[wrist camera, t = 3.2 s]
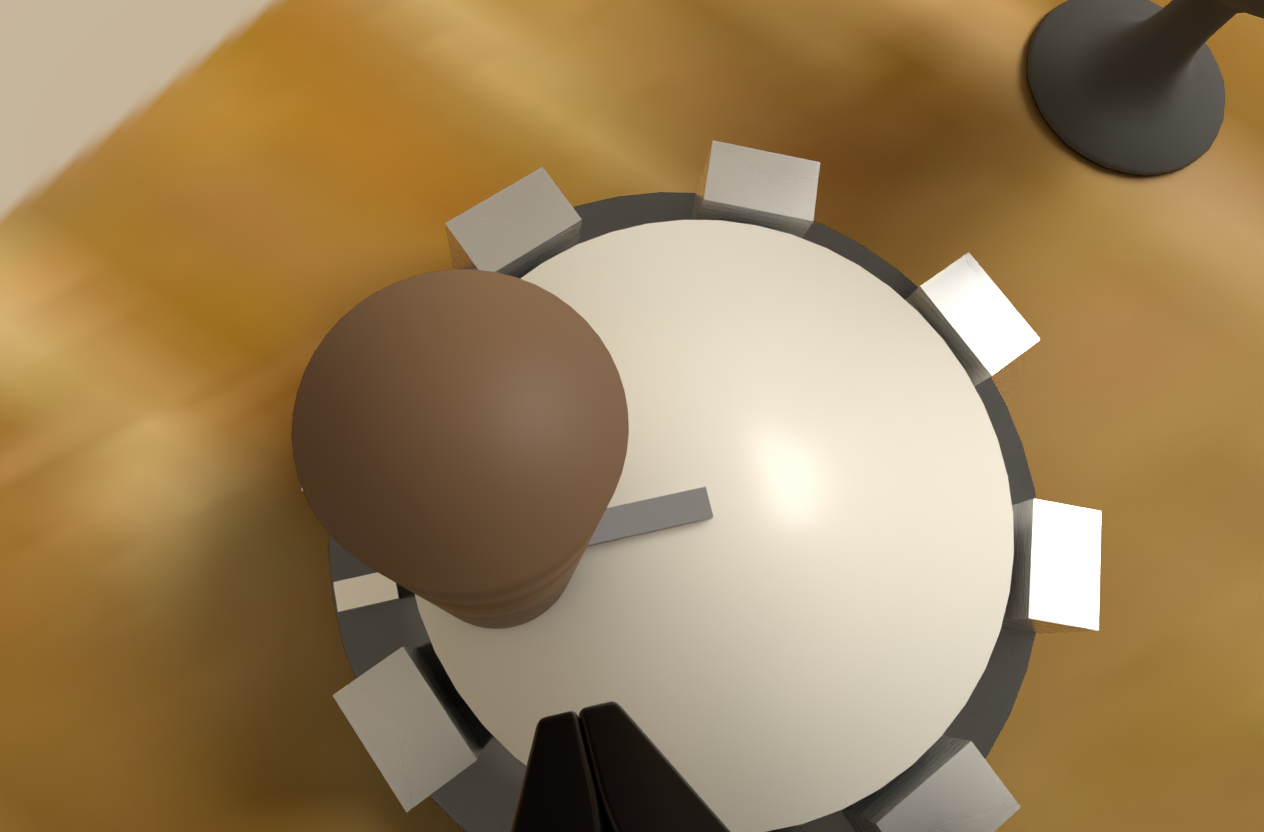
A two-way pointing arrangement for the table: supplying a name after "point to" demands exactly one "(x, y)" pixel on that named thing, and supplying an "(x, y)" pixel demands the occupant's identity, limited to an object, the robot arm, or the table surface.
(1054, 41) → the sundae
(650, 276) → the dial
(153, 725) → the table surface
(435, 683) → the dial plate
